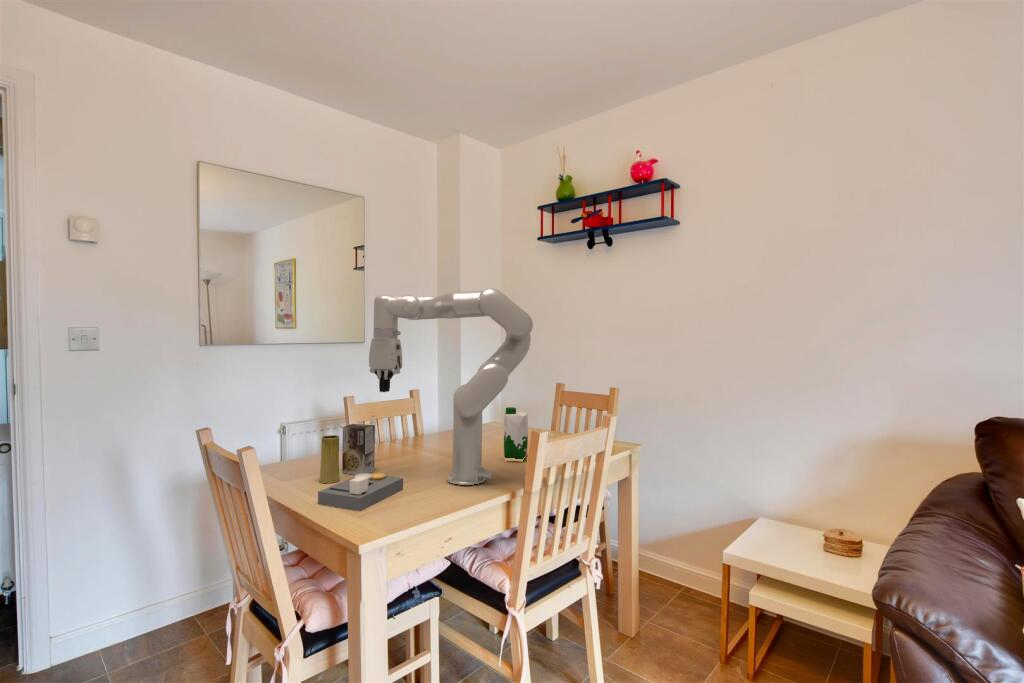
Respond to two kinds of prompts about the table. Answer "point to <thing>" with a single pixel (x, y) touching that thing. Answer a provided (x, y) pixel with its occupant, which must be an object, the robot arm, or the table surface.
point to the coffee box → (358, 449)
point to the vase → (329, 459)
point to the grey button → (364, 476)
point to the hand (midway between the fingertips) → (384, 391)
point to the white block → (358, 485)
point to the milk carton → (515, 434)
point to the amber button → (377, 476)
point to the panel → (345, 499)
